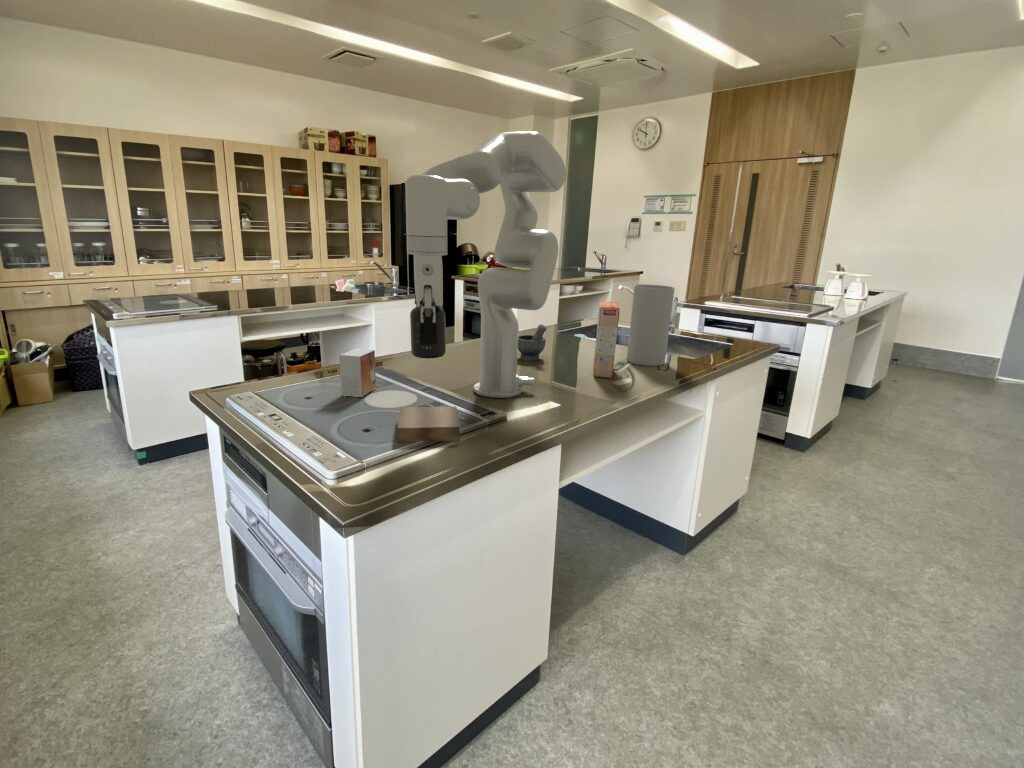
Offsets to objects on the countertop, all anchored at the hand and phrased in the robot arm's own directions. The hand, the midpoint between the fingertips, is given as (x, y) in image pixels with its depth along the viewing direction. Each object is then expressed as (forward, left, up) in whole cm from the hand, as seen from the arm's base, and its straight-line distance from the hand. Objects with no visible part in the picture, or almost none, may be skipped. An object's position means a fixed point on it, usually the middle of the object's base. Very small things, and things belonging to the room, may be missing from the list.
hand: (428, 338), depth 101 cm
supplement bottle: (0, 0, -3) cm, 3 cm away
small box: (+17, -26, -20) cm, 37 cm away
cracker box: (-53, -44, -20) cm, 72 cm away
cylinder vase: (-72, -56, -20) cm, 93 cm away
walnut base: (0, 0, -19) cm, 19 cm away
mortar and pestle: (-34, -61, -20) cm, 72 cm away
